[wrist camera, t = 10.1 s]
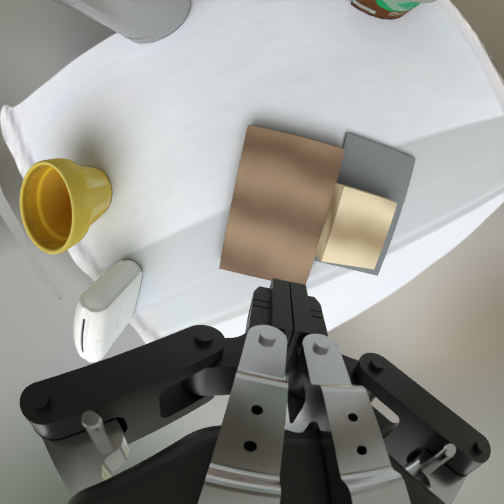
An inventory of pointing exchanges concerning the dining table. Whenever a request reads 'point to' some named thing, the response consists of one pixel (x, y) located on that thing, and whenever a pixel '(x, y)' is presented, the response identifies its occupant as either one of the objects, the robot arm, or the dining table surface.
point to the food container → (387, 7)
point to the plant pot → (62, 202)
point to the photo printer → (106, 309)
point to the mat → (375, 180)
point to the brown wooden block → (279, 205)
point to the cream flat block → (355, 227)
